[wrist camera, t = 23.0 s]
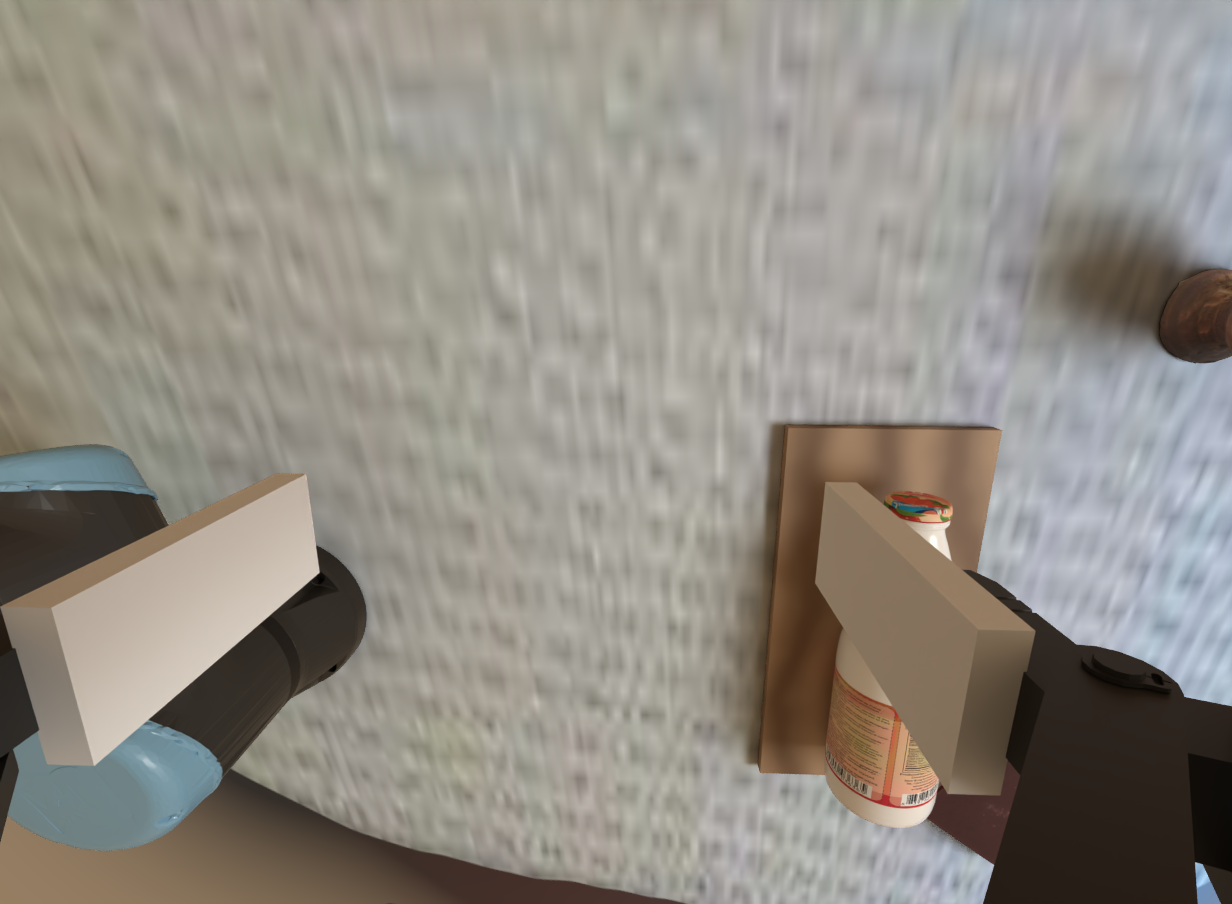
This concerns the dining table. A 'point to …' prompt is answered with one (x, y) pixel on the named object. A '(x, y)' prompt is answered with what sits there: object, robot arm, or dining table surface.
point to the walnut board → (798, 609)
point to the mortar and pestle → (1200, 318)
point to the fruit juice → (881, 712)
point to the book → (977, 815)
